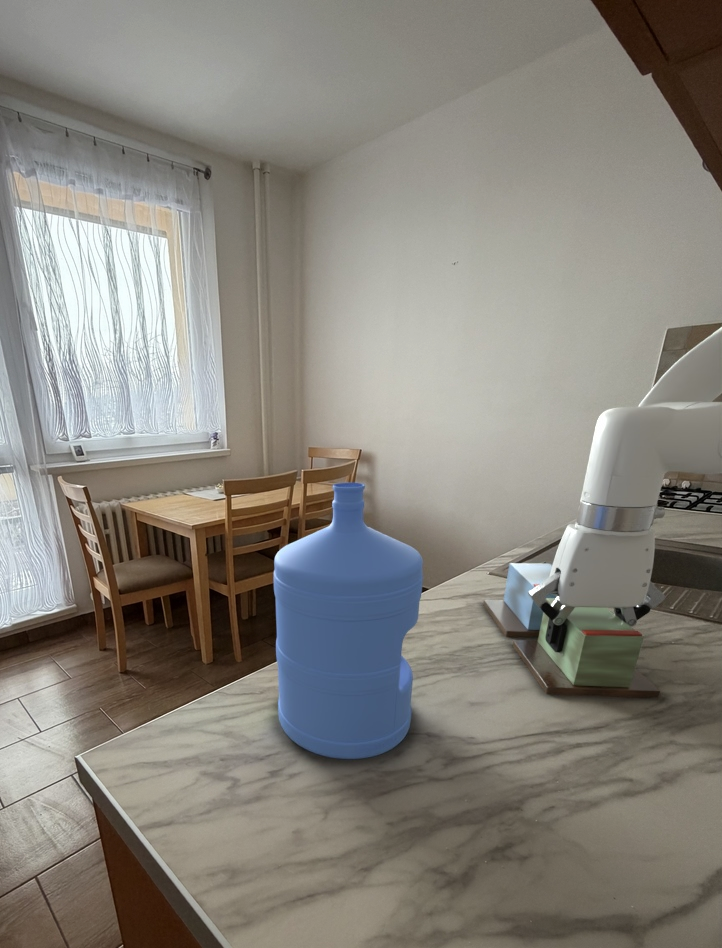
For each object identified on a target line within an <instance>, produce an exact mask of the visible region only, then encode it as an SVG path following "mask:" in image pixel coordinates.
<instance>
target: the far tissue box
mask: <svg viewBox="0 0 722 948" xmlns="http://www.w3.org/2000/svg"><path fill="white" fill-rule="evenodd" d="M552 565H553V564H551V563H547V562H546V563H545V562H544V563H543V562H542V563H535V562H534V563H532V562H530V563H529V562H528V563H526V562H525V563H524V562H521V563H517V562H514V563H512V562H510V563H508V571H507V577H506V582H505V583H506V584H505V590H504V596H503V600H504V601H505V603H506V604H507V605H508V606H509V608H510V609H511V610H512V611H513V612H514V614H515V615H516V616H517V617H518V618H519V620H520V621H521V622H522V623H523V625H524V626H525V627H526V628H527V629H528V630H540V627H541V622H542V617H543V611H542V610H541V609H540V608H539V607H538V606H537V604H536V603H535V602H534V601H533V600H532V599H531V597H530V596H529V595H528V593H529V591H530V590H532V589H533V588H535V587H536V586H538V585H539V584H541V583H542V582H543V581H545V580H546V579H548V578H549V576H550V572H551V568H552ZM546 598H557V596H555V595H552V594H550V593H549V594H548V595H547V596H546Z"/></svg>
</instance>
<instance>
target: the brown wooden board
mask: <svg viewBox="0 0 722 948" xmlns="http://www.w3.org/2000/svg"><path fill="white" fill-rule="evenodd" d="M512 648H513V649H514V650H515V652H516V654H517V655H518V656H519V658H520V659H521V660H522V662H523V663H524V665H525V666H526V668H527V669H528V670H529V672H530V673H531V674H532V676H533V677H534V679H535V680H536V682H537V683H538V684H539V686H540V687H541V689H542V690H543V692H544V693H545V694H546V695H564V696H565V695H566V696H567V695H568V696H569V695H570V696H595V697H622V698H647V699H648V698H649V699H651V698H654V699H659V697H660V694H661V690H660V689H659V688H658V687H657V686H656V685H654V684H653V682H651V681H650V680H649V679H648V678H647V677H646V676H645V675H644V674H643V673H641V672H640V671H639V670H638V669H637V668H635V670H634V673H633V677H632V680H631V684H630V687H605V686H576V685H573V684H572V683H571V682H570V680H569V679H568V678H567V677H566V675H565V674H564V673H563V672H562V671H561V669H560V668H559V667H558V666H557V665H556V663H555V662H554V661H553V660H552V658H551V657H550V656H549V655H548V654H547V652H546V651H545V650H544V649H543V647H542V646H541V645H540V644H539V643H538V640H530V639H529V640H526V639H523V640H522V639H513V640H512Z"/></svg>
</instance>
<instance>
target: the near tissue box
mask: <svg viewBox="0 0 722 948" xmlns="http://www.w3.org/2000/svg"><path fill="white" fill-rule="evenodd" d="M555 599H556V598H546V600H547V602H548V603H549V604H550V605H551V604H552V603H553V602H554V600H555ZM548 621H549V617H548V616H547V615H546V614H545V613H544V612H543V617H542V622H541V627H540V632H539V637H537V641H538V643H539V644H540V645H541V646H542V647H543V649H544V650H545V651H546V652H547V654H548V655H549V656H550V657H551V658H552V660H553V661H554V662H555V663H556V665H557V666H558V667H559V668H560V669H561V671H562V672H563V673H564V674H565V675H566V677H567V678H568V679H569V680H570V682H571V683H572V684H573V685H576V686H605V687H630V684H631V680H632V677H633V673H634V670H635V669H636V666H637V662H638V659H639V655H640V652H641V649H642V645H643V642H644V636H643V634H642V633H641V632H640V631H638V630H636V629H634V627H633V626H632V627H630V626H629V625H628V624H626V623H625V622H624V621H623V620H621V619H620V618H619V617H617V616H616V615H615V612H612V610H610V609H609V608H599V607H575V608H574V610H573V611H572V612H571V613H570V615H569V616H568V617H567V619H566V620H565V621H564V624H565V625H566V626H567V631H566V635H565V640H564V645H563V649H562V652H555V651H554V650H553V649H552V648H551V647H550V645H549V644H548V643H547V642H546V639H545V636H546V631H547V626H548Z"/></svg>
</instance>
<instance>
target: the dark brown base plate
mask: <svg viewBox="0 0 722 948" xmlns="http://www.w3.org/2000/svg"><path fill="white" fill-rule="evenodd" d="M482 605H483V607H484V608H485V609H486V611H487V613H488V614H489V615H490V617H491V618H492V619H493V621H494V622H495V624H496V625H497V627H498V629H500V631H501V632H502V634H503V635H504V636H505V637H506V638H538V637H539V632H540V630H528V629H527V628H526V627H525V626H524V625H523V623H522V622H521V621H520V620H519V618H518V617H517V616H516V615H515V614H514V612H513V611H512V610H511V609H510V608H509V606H508V605H507V604H506V603H505V601H504V599H483V603H482Z"/></svg>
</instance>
